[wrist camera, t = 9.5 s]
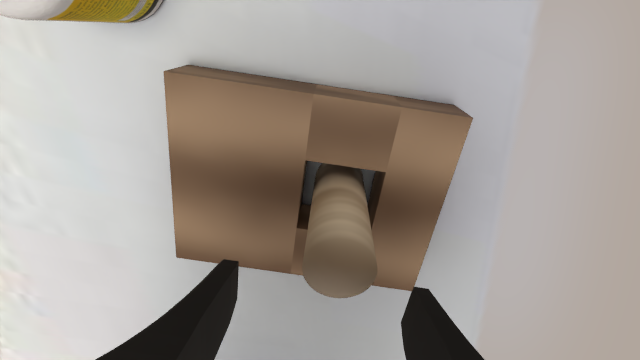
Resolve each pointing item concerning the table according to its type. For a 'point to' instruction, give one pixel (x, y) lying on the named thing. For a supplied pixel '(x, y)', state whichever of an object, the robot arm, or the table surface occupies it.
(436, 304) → the robot arm
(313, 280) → the beech peg
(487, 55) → the table surface
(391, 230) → the walnut socket board
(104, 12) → the supplement bottle
